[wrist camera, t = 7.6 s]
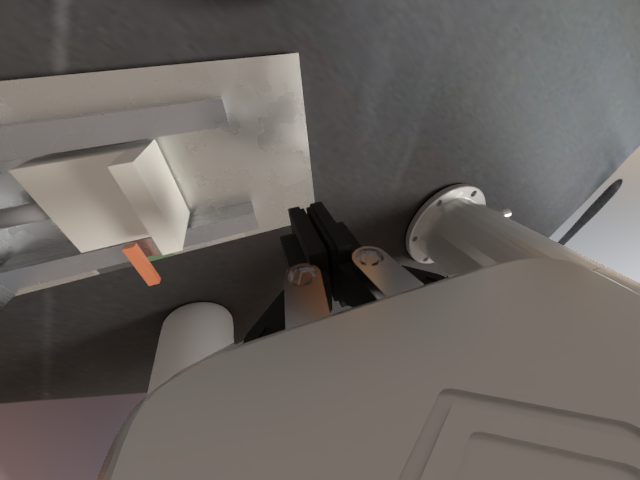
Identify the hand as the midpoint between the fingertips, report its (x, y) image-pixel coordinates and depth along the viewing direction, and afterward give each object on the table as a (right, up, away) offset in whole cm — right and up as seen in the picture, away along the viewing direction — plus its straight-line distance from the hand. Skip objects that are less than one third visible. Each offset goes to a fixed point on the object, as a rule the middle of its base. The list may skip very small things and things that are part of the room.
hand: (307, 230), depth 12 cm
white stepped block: (-15, +1, +6) cm, 17 cm away
